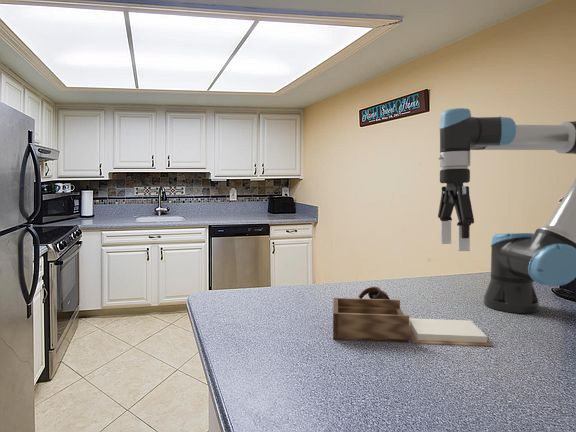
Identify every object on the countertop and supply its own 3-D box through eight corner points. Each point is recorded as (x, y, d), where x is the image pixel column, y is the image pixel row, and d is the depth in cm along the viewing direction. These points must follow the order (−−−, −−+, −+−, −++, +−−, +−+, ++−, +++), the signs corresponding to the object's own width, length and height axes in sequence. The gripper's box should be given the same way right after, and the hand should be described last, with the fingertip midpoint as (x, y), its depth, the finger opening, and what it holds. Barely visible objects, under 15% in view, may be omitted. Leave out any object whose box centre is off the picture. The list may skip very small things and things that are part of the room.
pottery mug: (398, 317, 120) (386, 294, 118) (368, 329, 122) (356, 307, 120) (389, 296, 132) (379, 275, 129) (362, 307, 133) (351, 287, 131)
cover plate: (470, 325, 110) (470, 320, 110) (486, 342, 98) (487, 336, 98) (408, 323, 112) (408, 318, 112) (417, 339, 100) (417, 333, 100)
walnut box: (399, 323, 113) (399, 299, 113) (408, 342, 99) (409, 316, 98) (333, 320, 115) (333, 297, 115) (333, 339, 101) (333, 313, 100)
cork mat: (471, 325, 111) (471, 324, 111) (492, 346, 96) (492, 345, 96) (402, 322, 113) (402, 321, 113) (413, 343, 98) (413, 342, 98)
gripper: (427, 170, 123) (426, 241, 124) (457, 166, 98) (456, 254, 100) (452, 170, 123) (452, 240, 124) (489, 165, 98) (488, 254, 99)
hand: (454, 247), depth 112 cm, fingers open, 13 cm apart
